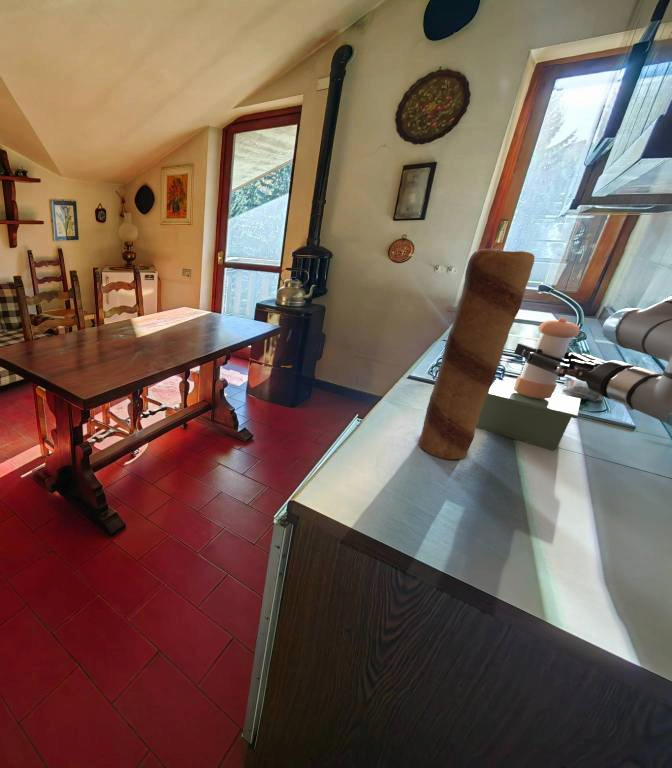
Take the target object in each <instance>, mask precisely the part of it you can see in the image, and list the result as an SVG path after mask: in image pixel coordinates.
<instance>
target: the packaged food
mask: <svg viewBox="0 0 672 768" xmlns="http://www.w3.org/2000/svg"><path fill="white" fill-rule="evenodd" d="M563 384H564V385H565V386H566V389H563V390H562V392H563V393H564V394H565V395H566V396H571V397H575V398H580V399H581V400H586V401H590V402H593V403H599V402H602V401H603V399H604V397H603V396H601V395H598V394H596V393H593V392H592V391H590V389H589V388H588V386H587V383H586V381H581V380H578V379H576V380H569V381H565V382H563Z"/></svg>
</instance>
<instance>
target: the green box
mask: <svg viewBox="0 0 672 768" xmlns="http://www.w3.org/2000/svg"><path fill="white" fill-rule="evenodd" d="M571 419H572V417H568V416H564V415H560V414H556V413H552V412H548V411H544V410H540V409H536V408H532V407H528V406H524V405H521V404H517V403H513V402H509V401H505V400H501V399H497V398H493V397H489V396H487V397H486V399H485V401H484V404H483V408H482V410H481V413H480V415H479V420H478V423H477V426H476V429H477V428H478V429H481V430H483V431H487V432H490V433H494V434H497V435H500V436H504V437H507V438H511V439H513V440H517V441H520V442H523V443H527V444H531V445H534V446H537V447H540V448H544V449H547V450H551V451H554V452H556V451H557V448H558V446H559V444H560V442H561V440H562V438H563V436H564V434H565V432H566V429H567V428H568V426H569V423H570V421H571Z"/></svg>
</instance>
